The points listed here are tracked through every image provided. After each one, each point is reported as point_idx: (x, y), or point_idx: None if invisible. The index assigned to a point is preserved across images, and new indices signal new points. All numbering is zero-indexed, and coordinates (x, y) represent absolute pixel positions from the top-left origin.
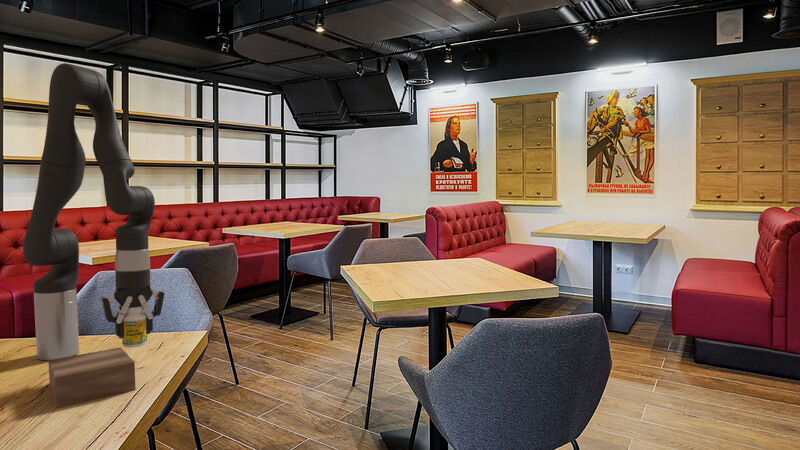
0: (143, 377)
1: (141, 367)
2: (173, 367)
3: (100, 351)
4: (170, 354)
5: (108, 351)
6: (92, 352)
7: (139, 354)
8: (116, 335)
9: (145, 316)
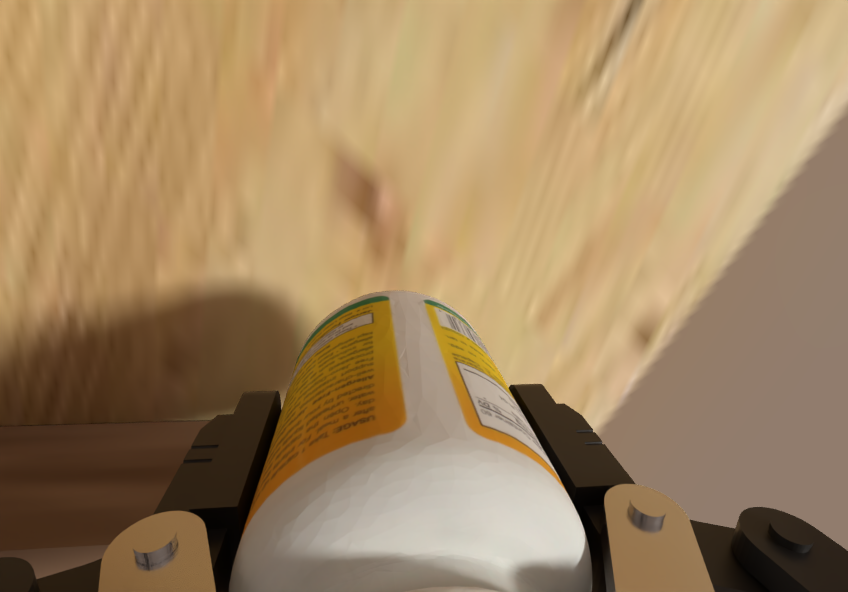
0: None
1: None
2: None
3: (96, 554)
4: (612, 250)
5: None
6: (32, 547)
7: (466, 90)
8: (219, 423)
9: None
